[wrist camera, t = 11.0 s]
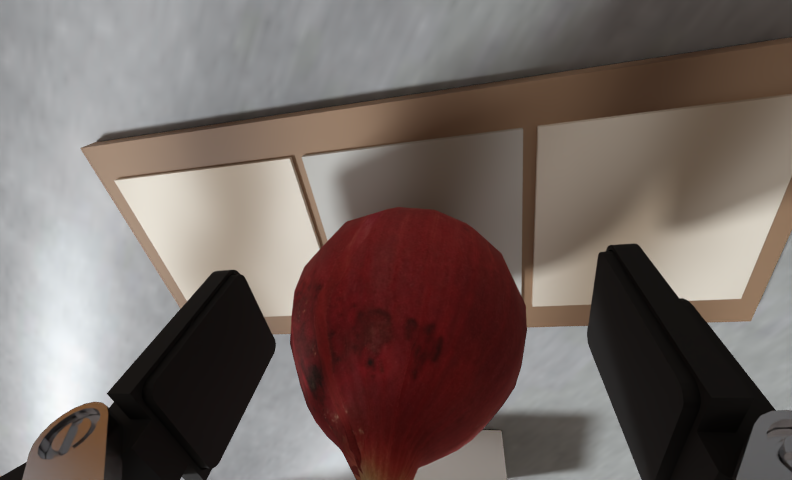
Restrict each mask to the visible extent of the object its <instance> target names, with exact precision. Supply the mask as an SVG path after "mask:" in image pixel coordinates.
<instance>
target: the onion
mask: <svg viewBox="0 0 792 480" xmlns="http://www.w3.org/2000/svg"><path fill="white" fill-rule="evenodd" d="M526 333H527V318H526V305H525V303H524V300H523V298H522V296H521V294H520V292H519V290H518V288H517V286H516V284H515V281H514V279H513V277H512V275H511V273H510V271H509V269H508V266H507V264H506V262H505V260H504V258H503V255H502V253H501V252H499V251H498V250H497V249H496V248H495V247H494V246H493V245H492V244H491V243H489V242H488V241H487V240H486V239H485V238H484V237H483V236H482V235H481V234H479V233H478V232H477V231H476V230H475V229H474V228H472V227H471V226H470V225H468V224H467V223H465V222H462V221H460V220H458V219H455V218H453V217H451V216H448V215H446V214H444V213H441V212H439V211H437V210H433V209H419V208H406V207H395V208H390V209H386V210H383V211H380V212H376V213H373V214H370V215H366V216H363V217H360V218H356V219H353V220H350V221H346V222H345V223H344V224H343V225H342V226H341V227H340V228H339V230H338V231H337V232H336V233H335V234H334V235H333V236H332V237H331V238H330V239H329V240H328V241H327V242H326V243H325V244H324V245H323V246H322V247H321V248H320V250H319V251H318V252H317V253H316V254H315V255H314V256H313V257H312V259H311V260H310V261H309V262H308V263H307V264H306V265H305V266H304V268H303V271H302V273H301V276H300V278H299V281H298V283H297V286H296V288H295V291H294V299H293V308H292V317H291V337H290V345H291V349H292V353H293V357H294V361H295V365H296V369H297V373H298V377H299V381H300V385H301V389H302V392H303V395H304V398H305V401H306V404H307V407H308V408H309V410H310V412H311V414H312V416H313V418H314V419H315V421H316V423H317V424H318V425H319V427H320V428H321V429H322V430H323V432H324V433H325V434H326V435H327V437H328V438H329V439H330V440H332V441H333V442H334V443H335V444H336V445H337V446H338V447H339V448H340V449H341V451H342V452H343V454H344V456H345V458H346V460H347V462H348V464H349V466H350V468H351V470H352V472H353V474H354V476H355V478H356V480H414V477H415V475H416V473H417V470H418V468H420V467H422V466H425V465H428V464H430V463H432V462H434V461H436V460H439V459H441V458H443V457H445V456H447V455H449V454H451V453H453V452H455V451H457V450H459V449H460V448H462V447H463V446H464V445H466V444H467V443H469V442H470V441H471V440H473V439H474V438H475V437H476V436H477V435H478V434H479V433H480V432H481V431H482V430H483V429H484V427H485V426H486V425H487V424H488V423H489V421H490V420H491V419H492V418H493V417H494V415H495V414H496V413H497V412H498V411H499V409H500V408H501V407H502V406H503V404H504V403H505V401H506V400H507V398H508V397H509V395H510V394H511V392H512V391H513V389H514V388H515V385H516V382H517V378H518V375H519V372H520V369H521V365H522V359H523V352H524V346H525V339H526Z"/></svg>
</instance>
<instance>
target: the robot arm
mask: <svg viewBox="0 0 792 480" xmlns="http://www.w3.org/2000/svg"><path fill="white" fill-rule="evenodd" d="M587 338H588V344H589V347H590V350H591V352H592V355H593V357H594V360H595V363H596V365H597V368H598V370H599V373H600V375H601V378H602V380H603V383H604V385H605V388H606V390H607V393H608V395H609V398H610V401H611V403H612V406H613V408H614V411H615V413H616V416H617V418H618V421H619V423H620V426H621V428H622V431H623V433H624V436H625V439H626V441H627V444H628V446H629V449H630V451H631V454H632V456H633V459H634V461H635V464H636V466H637V469H638V471H639V474H640V477H641V479H642V480H792V411H791V410H778V411H776V410H775V409H774V408H773V406H772V405H771V404H770V402H769V401H768V400H767V399H766V397H765V396H764V395H763V394H762V392H761V391H760V390H759V388H758V387H757V386H756V385H755V383H754V382H753V381H752V380H751V378H750V377H749V376H748V374H747V373H746V372H745V371H744V369H743V368H742V367H741V366H740V364H739V363H738V362H737V360H736V359H735V358H734V357H733V355H732V354H731V353H730V352H729V350H728V349H727V348H726V346H725V345H724V344H723V343H722V341H721V340H720V339H719V338H718V336H717V335H716V334H715V332H714V331H713V330H712V329H711V327H710V326H709V325H708V324H707V322H706V321H705V320H704V318H703V317H702V316H701V315H700V313H699V312H698V311H697V310H696V308H695V307H694V306H693V305H692V304H691V303H690V302H689V301H688V300H686V299H684V298H679V297H678V296H677V295H676V293H675V292H674V291H673V289H672V288H671V287H670V285H669V284H668V283H667V281H666V280H665V279H664V278H663V276H662V275H661V274H660V272H659V271H658V270H657V268H656V267H655V266H654V264H653V263H652V262H651V260H650V259H649V258H648V256H647V255H646V254H645V252H644V251H643V250H642V248H641V247H640V246H639V245H638V244H635V243H634V244H618V245H609V246H608V247H607V249H606V251H605V252H599V254H598V259H597V266H596V273H595V280H594V288H593V295H592V302H591V309H590V316H589V323H588V330H587ZM275 347H276V343H275V339H274V337H273V335H272V333H271V331H270V329H269V326H268V324H267V322H266V320H265V318H264V316H263V314H262V312H261V310H260V308H259V305H258V303H257V301H256V299H255V297H254V295H253V293H252V291H251V289H250V287H249V284H248V282H247V280H246V278H245V277H244V276H243V275H241V274H240V273H239V272H238V271H237V270H221V271H214V272H213V273H212V274H211V275H210V276H209V277H208V278H207V279H206V280H205V281H204V283H203V284H202V285H201V286H200V287H199V288H198V290H197V291H196V292H195V293H194V294H193V295H192V296H191V298H190V299H189V300H188V301H187V302H186V303H185V304H184V306H183V307H182V308H181V309H180V310H179V311H178V312H177V314H176V315H175V316H174V317H173V318H172V319H171V321H170V322H169V323H168V324H167V325H166V326H165V327H164V329H163V330H162V331H161V332H160V333H159V334H158V335H157V337H156V338H155V339H154V340H153V341H152V342H151V343H150V345H149V346H148V347H147V348H146V349H145V350H144V352H143V353H142V354H141V355H140V356H139V357H138V358H137V360H136V361H135V362H134V363H133V364H132V365H131V366H130V368H129V369H128V370H127V371H126V372H125V373H124V374H123V376H122V377H121V378H120V379H119V380H118V381H117V383H116V384H115V385H114V386H113V387H112V388H111V389H110V391H109V392H108V393H107V394H108V395H109V397H110V398H111V399H112V400H113V401H114V403H113V404H112V405H111V406H110V408H108V407H107V406H106V405H105V404H104V403H101V402H91V403H86V404H83V405H81V406H78V407H76V408H74V409H72V410H70V411H69V412H67V413H65V414H63V415H62V416H61V417H59V418H58V419H57V420H55V421H54V422H53V423H51V424H50V425H49V426H48V427H47V428H46V429H45V430H44V431H43V432H42V433H41V434H40V436H39V437H38V438H37V440H36V441H35V442H34V444H33V446H32V448H31V450H30V452H29V456H28V459H27V462H26V463H24V464H22V465H21V466H19V467H17V468H15V469H14V470H12V471H10V472H8V473H7V474H5V475H3V476H1V477H0V480H180V479H181V477H183V478H184V479H185V480H206V479H207V477H208V475H209V474H210V472H211V470H212V468H214V467H216V466H217V465H218V463H219V462H220V460H221V458H222V456H223V454H224V452H225V450H226V448H227V446H228V444H229V442H230V440H231V438H232V436H233V434H234V432H235V430H236V428H237V426H238V424H239V422H240V420H241V418H242V416H243V414H244V412H245V410H246V408H247V406H248V404H249V402H250V400H251V398H252V396H253V394H254V392H255V390H256V388H257V386H258V384H259V382H260V380H261V378H262V376H263V374H264V372H265V370H266V368H267V366H268V364H269V362H270V360H271V358H272V356H273V354H274V352H275Z"/></svg>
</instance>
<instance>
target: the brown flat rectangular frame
mask: <svg viewBox="0 0 792 480" xmlns="http://www.w3.org/2000/svg"><path fill="white" fill-rule="evenodd" d="M81 150H82V152H83V153H84V155H85V156H86V158H87V160H88V161H89V163H90V164H91V166H92V168H93V169H94V171H95V172H96V174H97V176H98V177H99V179H100V180H101V182H102V184H103V185H104V187H105V188H106V190H107V192H108V193H109V195H110V196H111V198H112V200H113V201H114V203H115V204H116V206H117V208H118V209H119V211H120V212H121V214H122V216H123V217H124V219H125V220H126V222H127V224H128V225H129V227H130V228H131V230H132V232H133V233H134V235H135V236H136V238H137V240H138V241H139V243H140V244H141V246H142V248H143V249H144V251H145V252H146V254H147V256H148V257H149V259H150V260H151V262H152V264H153V265H154V267H155V269H156V270H157V272H158V273H159V275H160V277H161V278H162V280H163V281H164V283H165V285H166V286H167V288H168V289H169V291H170V293H171V294H172V296H173V297H174V299H175V301H176V302H177V304H178V305H179V307H180V309H181V308H182V307H183V306H184V304H185V303H186V302H187V301H188V300H189V299H190V298H191V296H192V295H193V294H194V293H195V292H196V291H197V290H198V288H199V287H200V286H201V285H202V284H203V283H204V281H205V280H206V279H207V278H208V277H209V276H210V275H211V274H212V273H213V272H214V271H221V270H237V271H238V272H239V273H240V274H241V275H243V276H244V277H245V278H246V280H247V282H248V284H249V287H250V289H251V291H252V293H253V295H254V297H255V299H256V301H257V303H258V305H259V308H260V310H261V312H262V314H263V316H264V318H265V320H266V322H267V324H268V326H269V329H270V331H271V333H272V334H291V317H292V308H293V299H294V291H295V288H296V286H297V283H298V281H299V278H300V276H301V273H302V271H303V268H304V266H305V265H306V264H307V263H308V262H309V261H310V260H311V259H312V257H313V256H314V255H315V254H316V253H317V252H318V251H319V250H320V248H321V247H322V246H323V245H324V244H325V243H326V242H327V241H328V240H329V239H330V238H331V237H332V236H333V235H334V234H335V233H336V232H337V231H338V230H339V228H340V227H341V226H342V225H343V224H344V223H345V222H346V221H350V220H353V219H356V218H360V217H363V216H366V215H370V214H373V213H376V212H380V211H383V210H386V209H390V208H395V207H406V208H419V209H433V210H437V211H439V212H441V213H444V214H446V215H448V216H451V217H453V218H455V219H458V220H460V221H462V222H465V223H467V224H468V225H470V226H471V227H472V228H474V229H475V230H476V231H477V232H478V233H479V234H481V235H482V236H483V237H484V238H485V239H486V240H487V241H488V242H489V243H491V244H492V245H493V246H494V247H495V248H496V249H497V250H498V251H499V252H501V253H502V255H503V258H504V260H505V262H506V264H507V266H508V269H509V271H510V273H511V275H512V277H513V279H514V281H515V284H516V286H517V288H518V290H519V292H520V294H521V296H522V298H523V300H524V303H525V305H526V318H527V327H556V326H588V323H589V316H590V309H591V302H592V295H593V288H594V280H595V273H596V266H597V259H598V254H599V252H605V251H606V249H607V247H608V246H609V245H618V244H634V243H635V244H638V245H639V246H640V247H641V248H642V250H643V251H644V252H645V254H646V255H647V256H648V258H649V259H650V260H651V262H652V263H653V264H654V266H655V267H656V268H657V270H658V271H659V272H660V274H661V275H662V276H663V278H664V279H665V280H666V281H667V283H668V284H669V285H670V287H671V288H672V289H673V291H674V292H675V293H676V295H677V296H678V297H679V298H684V299H686V300H688V301H689V302H690V303H691V304H692V305H693V306H694V307H695V308H696V310H697V311H698V312H699V313H700V315H701V316H702V317H703V318H704V320H705V321H706V322H738V321H751V320H752V317H753V315H754V313H755V311H756V308H757V306H758V304H759V302H760V299H761V297H762V295H763V293H764V291H765V288H766V286H767V284H768V282H769V279H770V277H771V275H772V273H773V271H774V268H775V266H776V264H777V262H778V259H779V257H780V255H781V253H782V251H783V248H784V246H785V244H786V242H787V239H788V237H789V235H790V233H791V230H792V37H790V38H783V39H777V40H770V41H763V42H757V43H750V44H743V45H737V46H730V47H724V48H717V49H710V50H704V51H697V52H690V53H684V54H677V55H671V56H664V57H657V58H651V59H644V60H638V61H631V62H624V63H618V64H611V65H604V66H598V67H591V68H585V69H578V70H571V71H565V72H558V73H551V74H545V75H538V76H532V77H525V78H518V79H512V80H505V81H499V82H492V83H485V84H479V85H472V86H465V87H459V88H452V89H446V90H439V91H432V92H426V93H419V94H412V95H406V96H399V97H393V98H386V99H379V100H373V101H366V102H360V103H353V104H346V105H340V106H333V107H326V108H320V109H313V110H307V111H300V112H293V113H287V114H280V115H273V116H267V117H260V118H254V119H247V120H240V121H234V122H227V123H221V124H214V125H207V126H201V127H194V128H187V129H181V130H174V131H168V132H161V133H154V134H148V135H141V136H134V137H128V138H121V139H115V140H108V141H101V142H95V143H92V144H90V145H87V146H85V147H82V148H81Z"/></svg>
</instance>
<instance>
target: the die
mask: <svg viewBox="0 0 792 480" xmlns="http://www.w3.org/2000/svg"><path fill="white" fill-rule="evenodd" d="M414 480H507V474H506V466H505V457H504V448H503V440H502V431H501V430H482V431H481V432H480V433H479V434H478V435H477V436H476V437H475V438H474V439H473V440H471V441H470V442H469V443H467V444H466V445H464V446H463V447H462V448H460V449H459V450H457V451H455V452H453V453H451V454H449V455H447V456H445V457H443V458H441V459H439V460H436V461H434V462H432V463H430V464H428V465H425V466H422V467H420V468H418V470H417V473H416V475H415V477H414Z"/></svg>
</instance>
